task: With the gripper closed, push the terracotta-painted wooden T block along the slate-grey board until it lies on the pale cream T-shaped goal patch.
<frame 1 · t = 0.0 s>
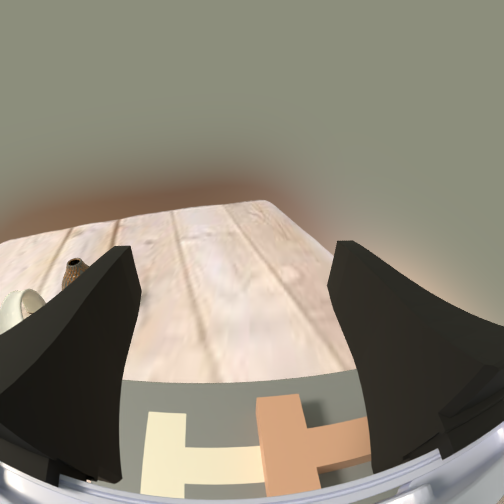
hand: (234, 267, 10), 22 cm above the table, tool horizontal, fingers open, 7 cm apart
vase: (90, 311, 38), on the table
t block: (325, 454, 21), point 1 cm above the table, touching board
spoon rest: (23, 361, 27), on the table
board: (272, 464, 20), on the table
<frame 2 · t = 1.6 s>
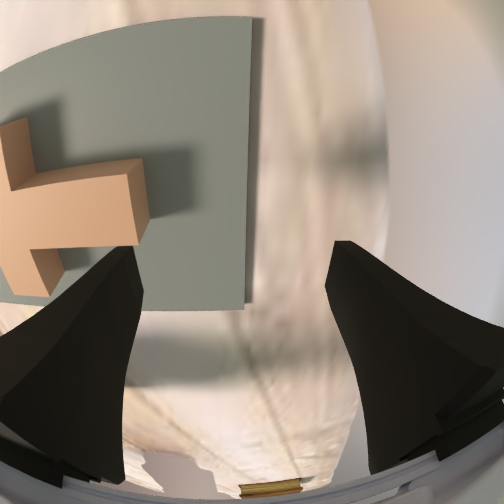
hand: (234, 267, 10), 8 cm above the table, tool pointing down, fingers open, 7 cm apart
t block: (64, 197, 15), point 1 cm above the table, touching board
diary: (269, 483, 82), on the table
board: (19, 201, 15), on the table
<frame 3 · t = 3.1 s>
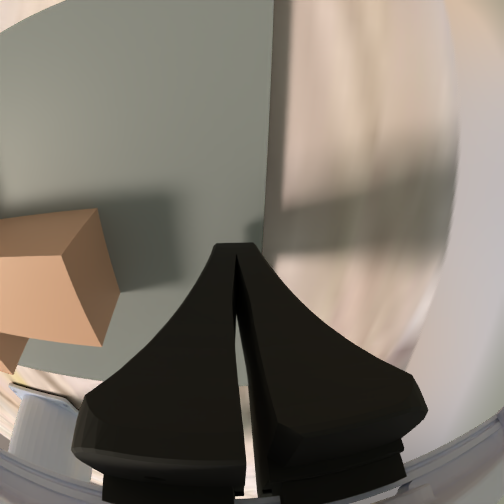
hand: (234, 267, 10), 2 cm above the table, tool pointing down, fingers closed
t block: (8, 257, 10), point 1 cm above the table, touching board
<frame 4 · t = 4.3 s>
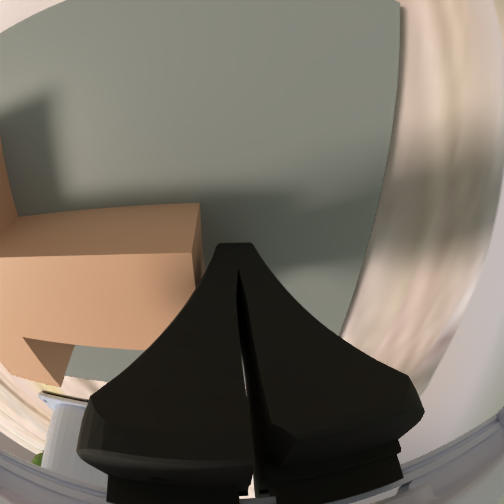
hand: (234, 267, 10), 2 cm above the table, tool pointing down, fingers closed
avocado: (49, 454, 37), on the table
t block: (64, 255, 10), point 1 cm above the table, touching gripper
board: (6, 250, 10), on the table
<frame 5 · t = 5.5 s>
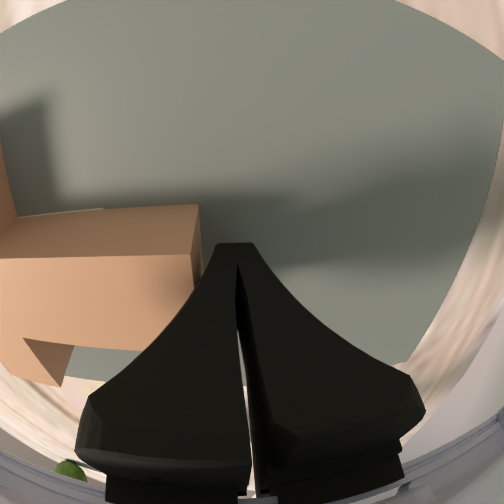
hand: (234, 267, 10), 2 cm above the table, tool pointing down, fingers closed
avocado: (73, 461, 38), on the table
t block: (64, 256, 10), point 1 cm above the table, touching board, gripper
board: (118, 246, 11), on the table
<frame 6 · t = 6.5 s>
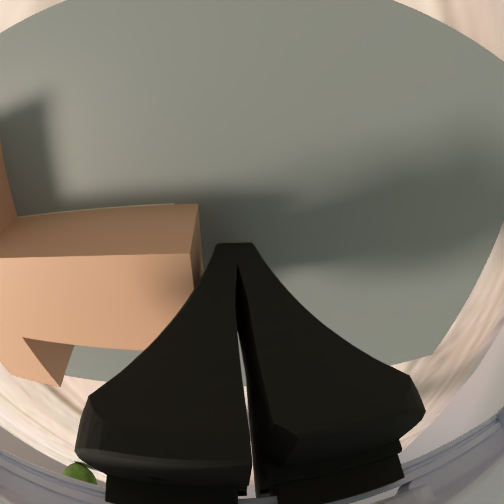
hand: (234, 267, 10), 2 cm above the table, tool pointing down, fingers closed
avocado: (82, 463, 38), on the table
t block: (64, 256, 10), point 1 cm above the table, touching board, gripper
board: (181, 243, 11), on the table
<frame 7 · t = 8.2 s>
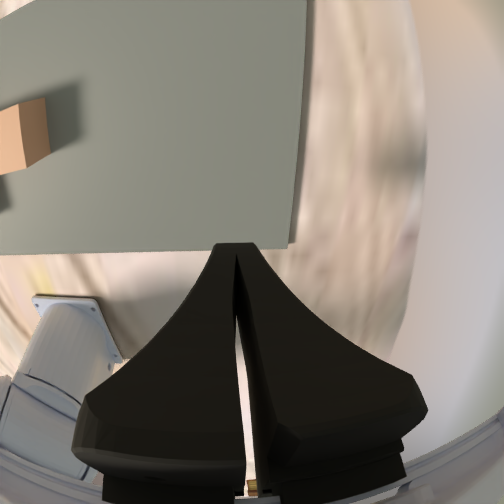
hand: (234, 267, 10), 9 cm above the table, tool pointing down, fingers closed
diary: (277, 479, 81), on the table
board: (42, 125, 14), on the table
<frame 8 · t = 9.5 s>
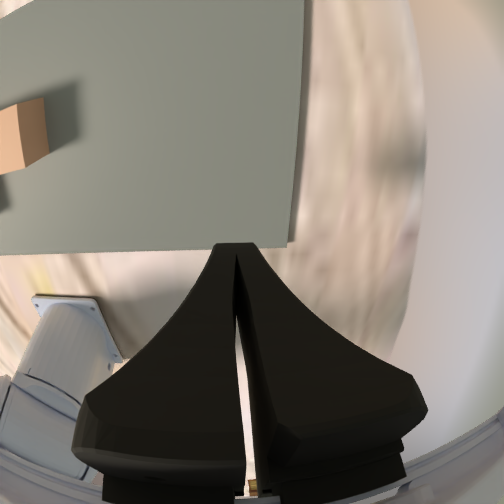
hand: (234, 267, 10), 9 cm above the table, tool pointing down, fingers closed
diary: (278, 478, 81), on the table
board: (41, 125, 14), on the table
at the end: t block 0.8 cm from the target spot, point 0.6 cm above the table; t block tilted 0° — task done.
